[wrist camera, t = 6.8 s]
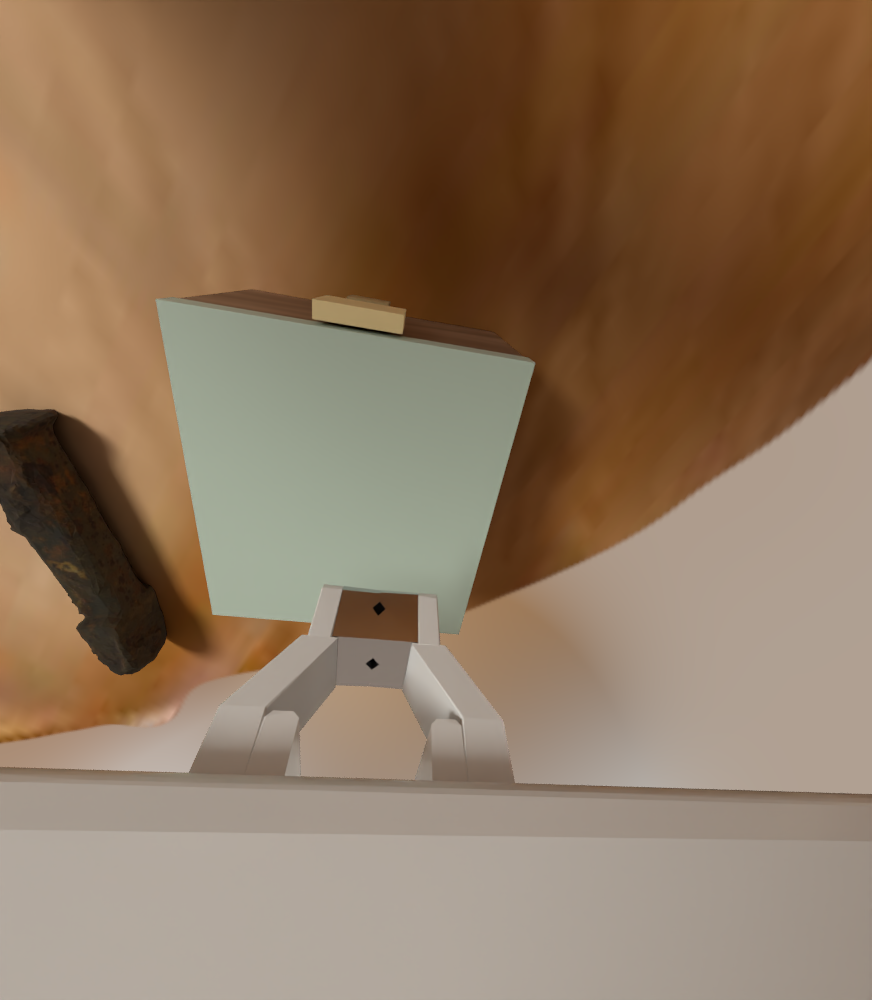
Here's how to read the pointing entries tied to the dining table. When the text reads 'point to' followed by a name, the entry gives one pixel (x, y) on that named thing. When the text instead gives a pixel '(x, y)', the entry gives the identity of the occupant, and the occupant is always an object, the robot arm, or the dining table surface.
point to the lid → (337, 453)
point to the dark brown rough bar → (76, 543)
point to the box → (412, 327)
